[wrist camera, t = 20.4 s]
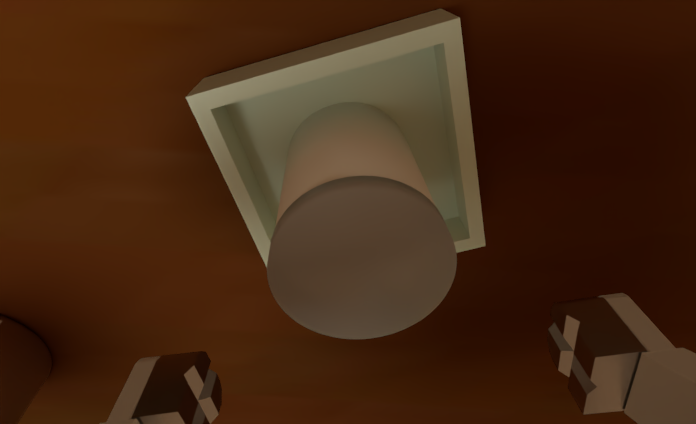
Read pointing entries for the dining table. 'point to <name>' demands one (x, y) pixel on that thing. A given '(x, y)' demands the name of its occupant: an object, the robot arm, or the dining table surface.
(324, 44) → the service tray
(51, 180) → the dining table surface
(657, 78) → the dining table surface
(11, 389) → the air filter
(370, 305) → the cartridge
